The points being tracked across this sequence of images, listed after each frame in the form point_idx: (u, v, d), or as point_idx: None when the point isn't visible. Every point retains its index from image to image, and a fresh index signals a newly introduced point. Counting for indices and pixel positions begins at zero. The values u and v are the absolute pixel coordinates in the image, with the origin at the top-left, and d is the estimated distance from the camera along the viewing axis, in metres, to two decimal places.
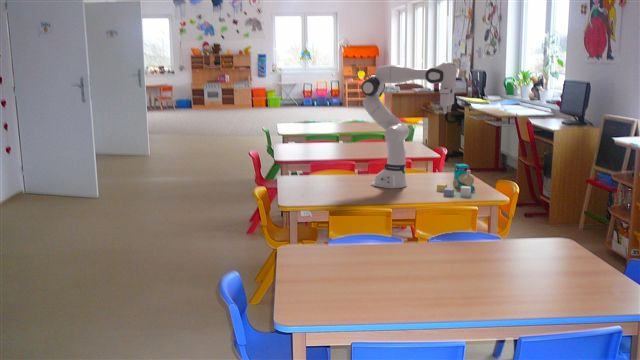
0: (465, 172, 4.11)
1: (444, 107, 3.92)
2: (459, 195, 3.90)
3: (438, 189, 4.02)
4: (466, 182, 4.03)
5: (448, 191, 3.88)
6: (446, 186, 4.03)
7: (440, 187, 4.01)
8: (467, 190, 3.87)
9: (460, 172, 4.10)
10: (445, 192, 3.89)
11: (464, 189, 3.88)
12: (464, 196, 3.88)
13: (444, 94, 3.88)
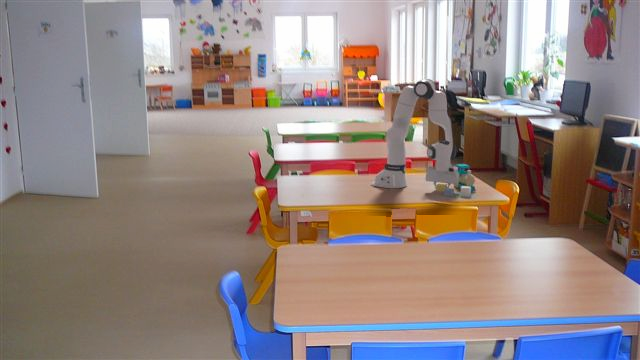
0: (466, 172, 4.10)
1: (450, 184, 4.00)
2: (459, 195, 3.90)
3: (438, 189, 4.01)
4: (466, 182, 4.03)
5: (448, 191, 3.88)
6: (446, 186, 4.03)
7: (440, 187, 4.01)
8: (467, 190, 3.87)
9: (461, 172, 4.09)
10: (445, 192, 3.89)
11: (464, 189, 3.88)
12: (464, 196, 3.88)
13: (457, 172, 3.98)
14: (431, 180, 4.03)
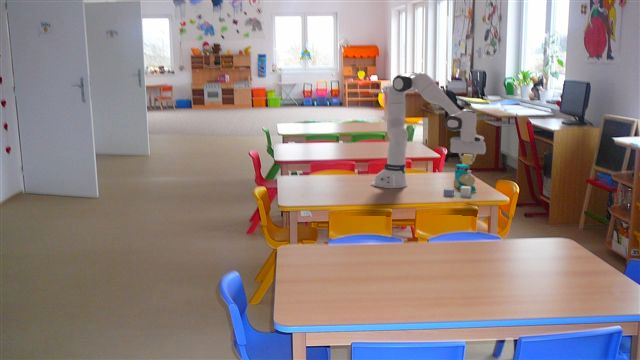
0: (466, 172, 4.10)
1: (476, 155, 3.84)
2: (459, 195, 3.90)
3: (464, 160, 3.85)
4: (467, 182, 4.02)
5: (448, 191, 3.88)
6: (472, 157, 3.86)
7: (465, 158, 3.84)
8: (467, 190, 3.87)
9: (461, 172, 4.09)
10: (445, 192, 3.89)
11: (464, 189, 3.88)
12: (464, 196, 3.88)
13: (483, 142, 3.81)
14: (456, 151, 3.86)
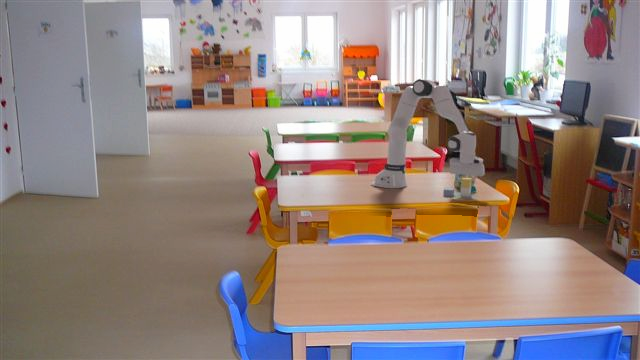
0: None
1: (476, 177, 3.86)
2: (459, 195, 3.90)
3: (462, 183, 3.88)
4: None
5: (448, 191, 3.88)
6: (471, 180, 3.89)
7: (464, 182, 3.87)
8: (467, 190, 3.87)
9: None
10: (445, 192, 3.89)
11: (464, 189, 3.88)
12: (464, 196, 3.88)
13: (482, 164, 3.83)
14: (455, 172, 3.89)
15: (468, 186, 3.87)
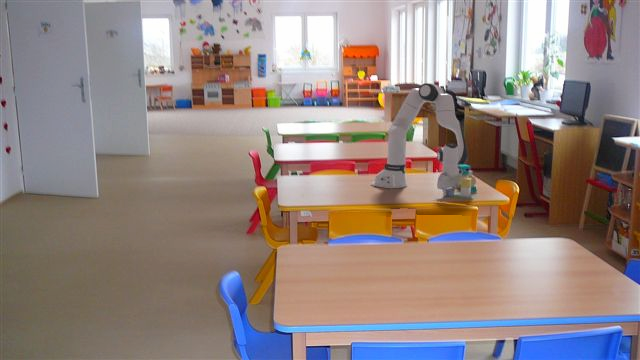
0: (467, 173, 4.09)
1: None
2: (459, 195, 3.90)
3: (462, 183, 3.88)
4: None
5: (448, 191, 3.88)
6: (471, 180, 3.89)
7: (464, 182, 3.87)
8: (467, 190, 3.87)
9: (462, 173, 4.08)
10: None
11: (464, 189, 3.88)
12: (464, 196, 3.88)
13: None
14: (445, 187, 3.84)
15: (468, 186, 3.87)
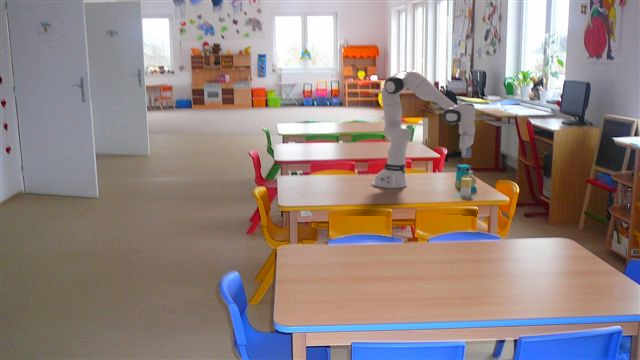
0: (467, 173, 4.09)
1: None
2: (459, 195, 3.90)
3: (462, 183, 3.88)
4: None
5: (467, 150, 3.82)
6: (471, 180, 3.89)
7: (464, 182, 3.87)
8: (467, 190, 3.87)
9: (462, 173, 4.08)
10: None
11: (464, 189, 3.88)
12: (464, 196, 3.88)
13: None
14: (466, 146, 3.78)
15: (468, 186, 3.87)
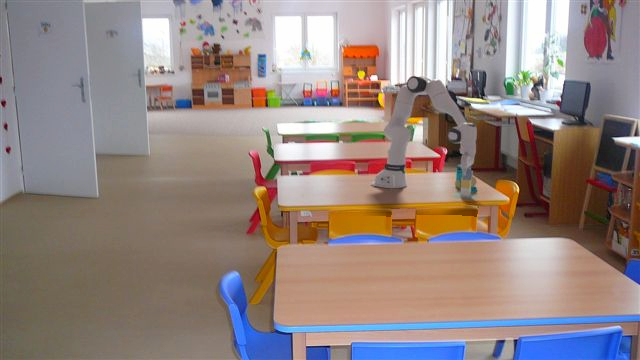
0: None
1: None
2: (459, 195, 3.90)
3: (462, 183, 3.88)
4: None
5: (467, 172, 3.85)
6: (471, 180, 3.89)
7: (464, 182, 3.87)
8: (467, 190, 3.87)
9: None
10: None
11: (464, 189, 3.88)
12: (464, 196, 3.88)
13: None
14: (467, 166, 3.81)
15: (468, 186, 3.87)
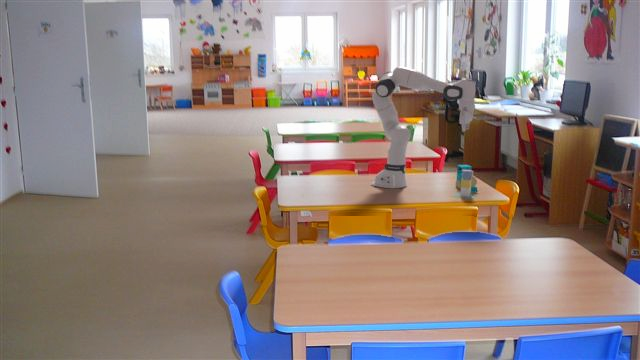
0: None
1: None
2: (459, 195, 3.90)
3: (462, 183, 3.88)
4: None
5: (467, 172, 3.85)
6: (471, 180, 3.89)
7: (464, 182, 3.87)
8: (467, 190, 3.87)
9: None
10: (464, 173, 3.86)
11: (464, 189, 3.88)
12: (464, 196, 3.88)
13: None
14: (466, 122, 3.80)
15: (468, 186, 3.87)
